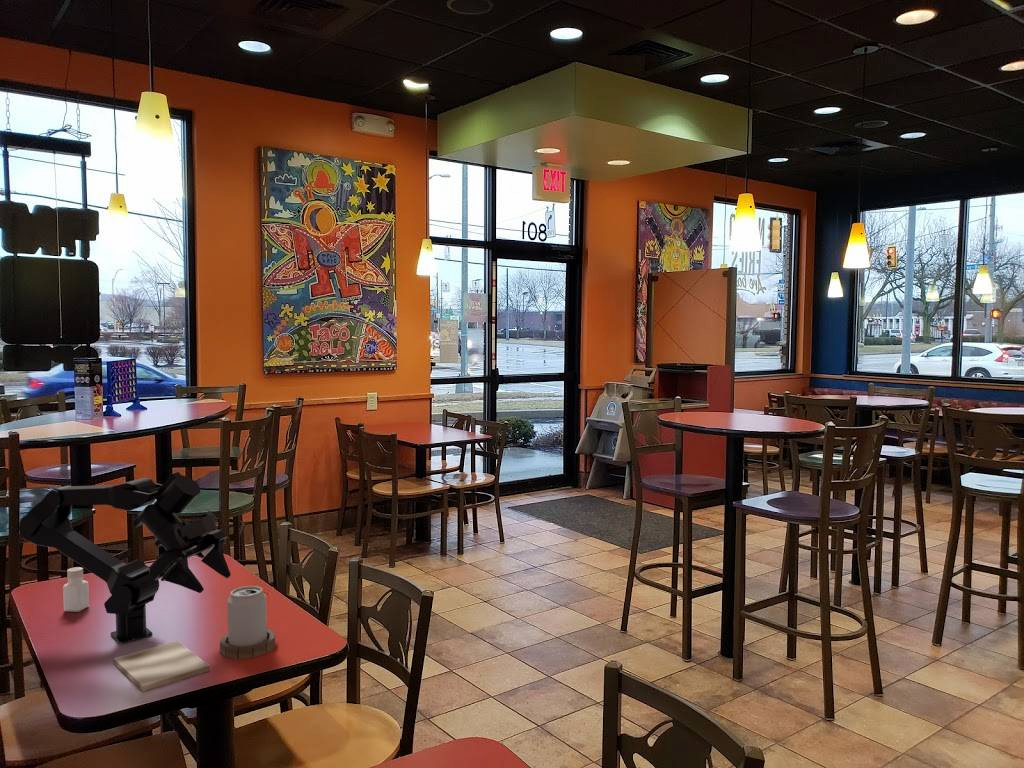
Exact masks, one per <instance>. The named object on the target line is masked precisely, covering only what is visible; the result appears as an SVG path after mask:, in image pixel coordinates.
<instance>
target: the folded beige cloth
mask: <svg viewBox="0 0 1024 768" xmlns="http://www.w3.org/2000/svg"><path fill="white" fill-rule="evenodd" d="M113 663H114V665H115V666H116V667H117V668H118V669H119V670H120V671H121V672H122V673H123V674H124V675H125V676H126V677H127V678H128V679H129V680H130V681H131V682H132V683H133V684H134V685H135V686H136V687H138V689H140V691H142V692H145V691H147V692H148V691H149V690H153V689H156V688H159V687H161V686H165V685H168V684H172V683H175V682H178V681H181V680H185V679H187V678H190V677H193V676H197V675H200V674H203V673H206V672H209V671H210V665H209V664H208V663H207V662H206V661H204V660H203V659H201V658H200V657H199V656H198V655H196V654H195V653H194V652H192V651H191V650H190V649H188V648H187V647H186V646H185V645H183V644H182V643H181V642H179V641H178V640H175V641H172V642H168V643H165V644H161V645H157V646H153V647H150V648H146V649H143V650H139V651H136V652H132V653H129V654H125V655H121V656H118V657H114V658H113Z"/></svg>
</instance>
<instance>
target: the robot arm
mask: <svg viewBox="0 0 1024 768" xmlns="http://www.w3.org/2000/svg"><path fill="white" fill-rule="evenodd" d="M200 493H201V488H200V485H199V483H198V482H197V481H196V480H195V479H192V478H191V477H188V476H186V475H182V474H181V473H180V472H179V471H175V472H172V473H170V475H169V476H168V477H167V479H166V481H164V483H163V484H160V483H158V482H157V483H156V482H154V481H153V479H152V478H149V477H142V478H137V479H135V480H134V479H133V480H130V481H126V482H122V483H118V484H107V485H106V484H104V485H76V486H74V485H73V486H72V485H64V486H60V487H56V488H52V489H51V490H50V491H48V492H47V493H46V495H45V496H44V498H43V499H41V501H39V502H38V503H37V504H35V505H34V506H33V507H32V508H31V509H30V510H29V511H28V512H27V514H25V515H23V517H22V518H21V519H20V521H19V525H18V530H19V536H20V537H21V538H22V539H23V540H25V541H26V542H29V543H31V544H34V545H36V546H41V547H47V548H53V549H55V550H57V551H59V553H62V554H63V555H64V556H66V557H68V558H69V559H70V560H72V561H73V562H75V563H76V564H79V565H80V566H81V567H82V568H83V569H85V570H88V571H89V572H91V573H92V574H93V575H95V576H96V577H98V578H100V579H101V580H103V581H104V582H105V583H106V585H107V588H108V591H109V593H110V594H111V595H110V597H109V598H108V599H107V600H105V602H104V603H103V606H104V609H105V612H106V614H114V615H115V630H114V631H111V632H110V637H112V638H113V639H114V640H115V641H116V642H117V643H119V644H123V643H124V644H125V643H127V642H131V641H135V640H139V639H144V638H146V637H150V636H152V635H153V631H152V630H150V629H149V628H148V627H147V609H146V608H147V607H146V605H147V604H148V603H150V602H153V601H154V599H155V598H156V597H155V596H156V594H157V593H158V591H159V590H160V589H159V588H160V581H161V582H169V583H171V584H174V585H178V586H180V587H183V588H185V589H189V590H190V591H194V592H196V593H199V594H201V593H203V592H204V590H205V588H204V587H203V585H202V584H201V582H200V581H199V579H198V577H196V576H195V574H194V573H193V572H192V570H191V569H190V567H189V560H188V559H189V558H191V557H194V556H197V557H199V558H201V560H200V562H202V563H203V564H205V565H206V566H207V567H209V568H210V569H211V570H213V571H215V572H216V573H217V574H219V575H220V576H223V578H225V579H229V578H230V577H231V574H232V573H231V571H230V568H229V567H228V564H227V561H226V558H225V555H224V545H225V544H226V539H227V538H228V536H227V535H226V533H225V532H224V531H223V530H222V529H218V527H217V524H218V522H219V521H218V520H219V518H218V516H216V515H215V513H213V512H212V511H211V510H208V511H206V512H203V513H202V514H199V518H198V519H197V520H194V521H192V522H191V521H190V520H187V519H184V520H181V519H180V518H179V517H178V515H177V514H182V513H183V512H184V511H185V510H186V509H187V508H188V507H189V505H190V504H192V503H193V502H194V500H195V499H197V497H198V496H199V495H200ZM104 505H105V506H111V507H112V508H114V509H116V510H123V511H128V512H129V511H133V510H137V509H140V508H142V507H144V508H143V510H142V511H140V512H139V511H138V512H137V513H133V521H132V527H133V528H138V527H140V526H141V527H142V526H143V525H144V526H145V527H146V529H147V530H148V531H149V532H150V534H152V536H154V538H155V539H156V541H155V542H154V545H155V546H156V548H159V547H163V548H164V549H165V551H163V552H162V553H160V554H159V556H158V557H157V558H156V559H155V560H154V561H153V562H152V564H150V565H149V566H148V565H147V564H145V562H143V561H142V560H140V559H135V560H132V561H131V562H128V563H125V562H124V561H122V560H120V559H119V558H117V557H116V556H115V555H112V554H111V553H109V552H108V551H106V550H105V549H103V548H102V547H100V546H99V545H97V544H95V543H94V542H93V541H91V540H90V539H88V538H86V537H85V536H84V535H82V534H80V533H79V532H77V531H76V530H74V529H73V526H72V523H71V520H70V518H69V517H70V516H71V514H72V511H73V507H74V506H104ZM210 531H211V532H210ZM159 579H160V580H159Z"/></svg>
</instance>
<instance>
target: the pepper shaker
mask: <svg viewBox="0 0 1024 768" xmlns="http://www.w3.org/2000/svg"><path fill="white" fill-rule="evenodd" d="M66 571H67V572H66V573H67V574H66V575H67V577H66V578H67V583H65V584H64V585H63V586H62V592H63V594H62V596H63V597H62V598H63V599H62V600H63V610H64V612H75V613H77V612H78V613H79V612H81V611H83V610H85V609H86V608H89V606H90V594H89V593H90V592H89V590H90V589H89V582H88V581H87V580H84V567H83V566H81V567H80V566H76V567H71V568H68V569H67V570H66Z"/></svg>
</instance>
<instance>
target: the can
mask: <svg viewBox="0 0 1024 768" xmlns="http://www.w3.org/2000/svg"><path fill="white" fill-rule="evenodd" d="M263 591H264V589H263V588H262V587H260V586H256V585H248V586H247V585H246V586H239V587H236V588H235V589H233V590H231V592H230V596H228V598H227V600H226V602H227V603H226V605H227V606H226V607H227V634H228V645H230V646H237V647H243V646H253V645H256V644H259V643H262V642H264V641H266V640H267V629H268V622H267V621H268V618H267V616H268V615H267V595H266V594H265V593H264V592H263Z"/></svg>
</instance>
